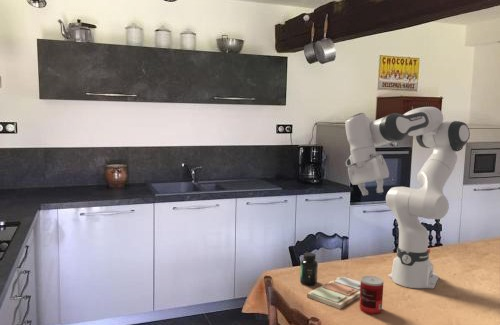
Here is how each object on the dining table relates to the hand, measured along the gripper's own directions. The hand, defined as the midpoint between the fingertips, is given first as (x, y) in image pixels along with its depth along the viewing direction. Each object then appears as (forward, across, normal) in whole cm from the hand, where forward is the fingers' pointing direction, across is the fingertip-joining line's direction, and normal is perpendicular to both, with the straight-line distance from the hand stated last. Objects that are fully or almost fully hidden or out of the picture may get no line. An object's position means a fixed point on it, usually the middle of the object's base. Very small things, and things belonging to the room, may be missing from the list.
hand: (372, 194), depth 157 cm
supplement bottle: (+30, +30, +19) cm, 47 cm away
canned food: (+40, +3, +10) cm, 41 cm away
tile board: (+35, +18, +12) cm, 41 cm away
